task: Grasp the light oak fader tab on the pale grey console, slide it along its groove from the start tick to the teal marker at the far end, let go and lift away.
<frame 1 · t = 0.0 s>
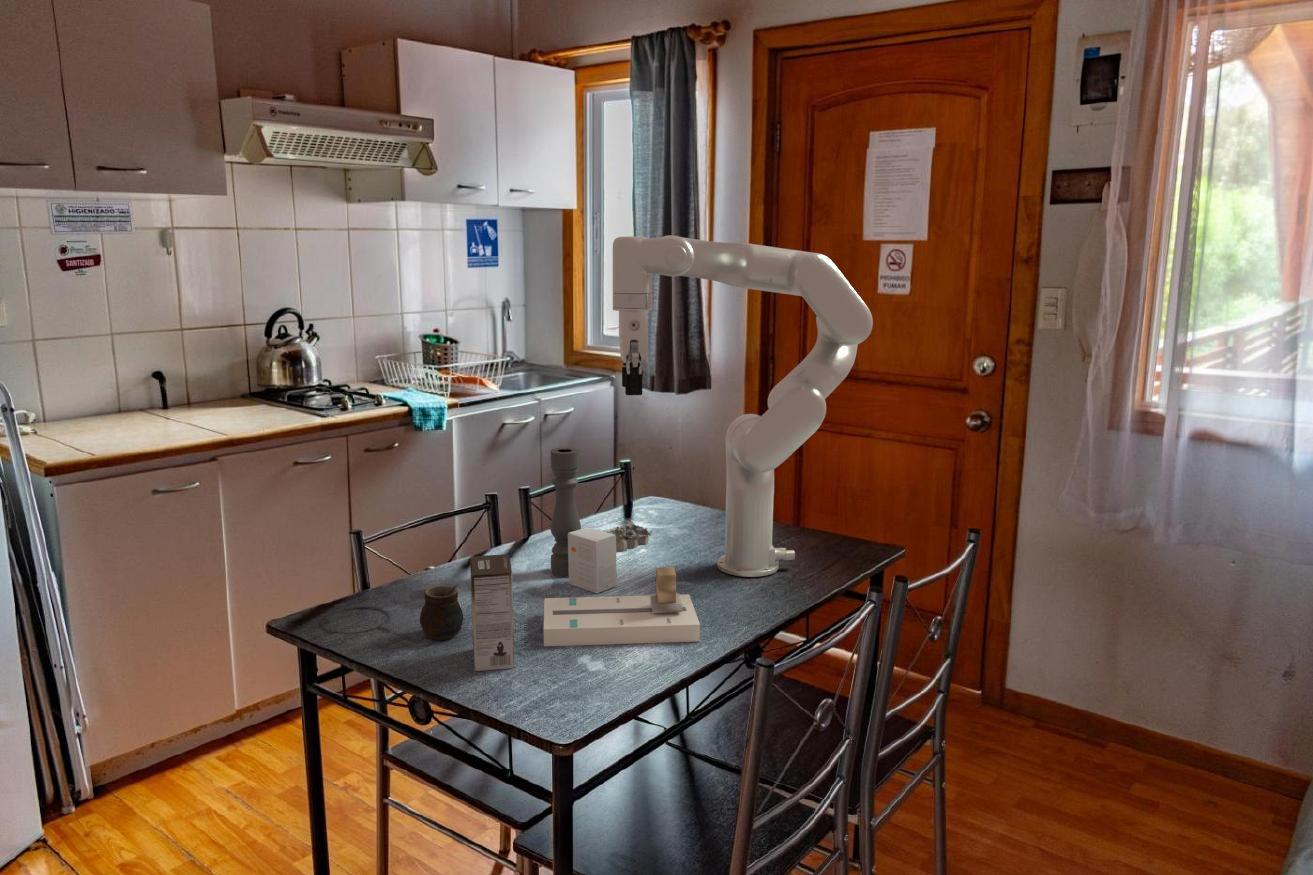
hand: (631, 390, 194), 37 cm above the table, tool pointing down, fingers open, 9 cm apart
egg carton: (624, 546, 218), on the table
coffee box: (493, 659, 160), on the table
mate gourd: (443, 636, 169), on the table
fader: (666, 589, 172), point 7 cm above the table, slide at -8.0 cm
small box: (592, 586, 193), on the table
console: (619, 627, 173), on the table
candle holder: (566, 572, 200), on the table
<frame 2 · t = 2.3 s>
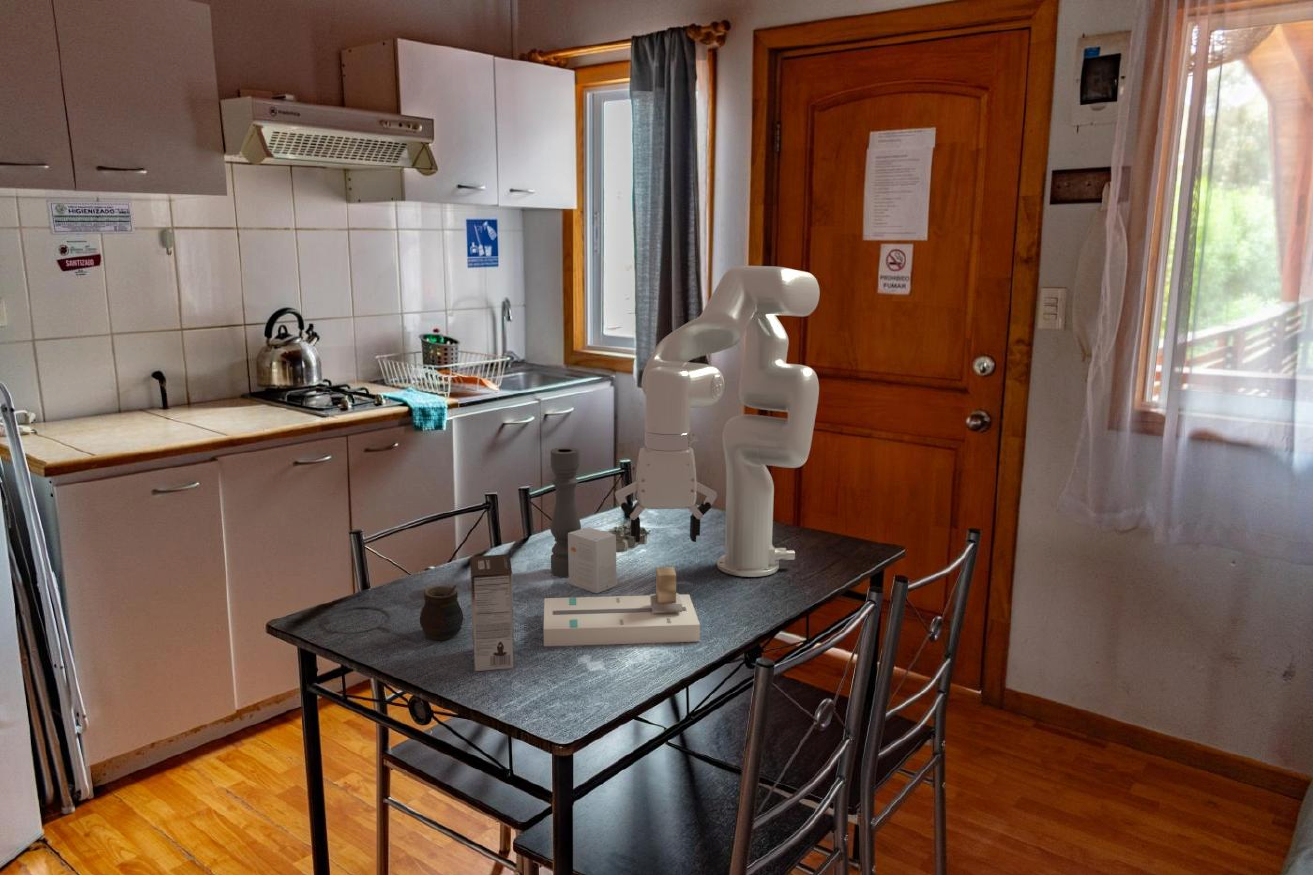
hand: (665, 540, 170), 16 cm above the table, tool pointing down, fingers open, 9 cm apart
nothing on the table moved.
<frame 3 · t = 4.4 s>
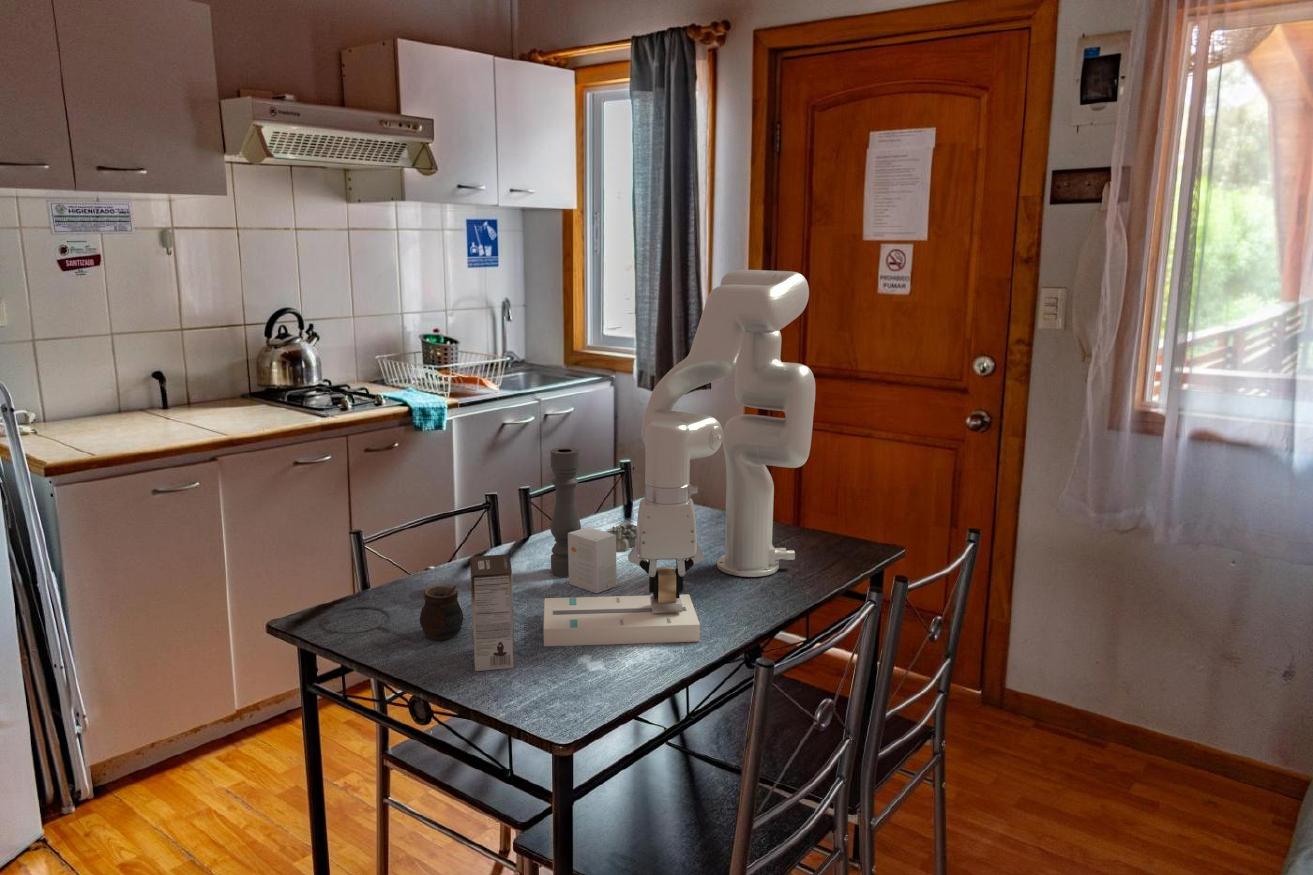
hand: (665, 595, 172), 6 cm above the table, tool pointing down, fingers closed on fader, 3 cm apart
fader: (666, 589, 172), point 7 cm above the table, slide at -8.0 cm, touching gripper
everything else where it was.
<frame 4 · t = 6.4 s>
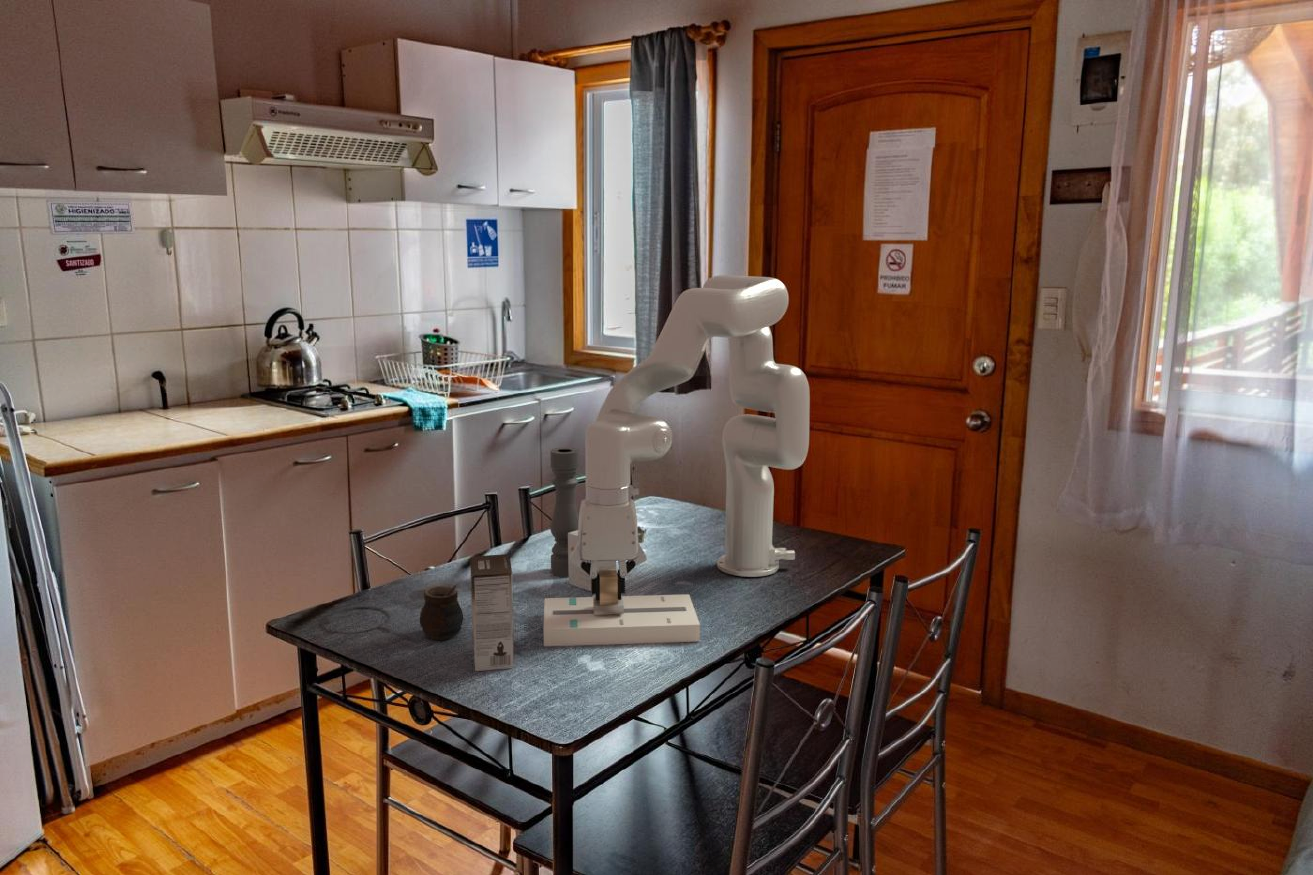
hand: (608, 596, 171), 6 cm above the table, tool pointing down, fingers closed on fader, 3 cm apart
fader: (608, 590, 171), point 7 cm above the table, slide at 2.0 cm, touching gripper
everything else where it was.
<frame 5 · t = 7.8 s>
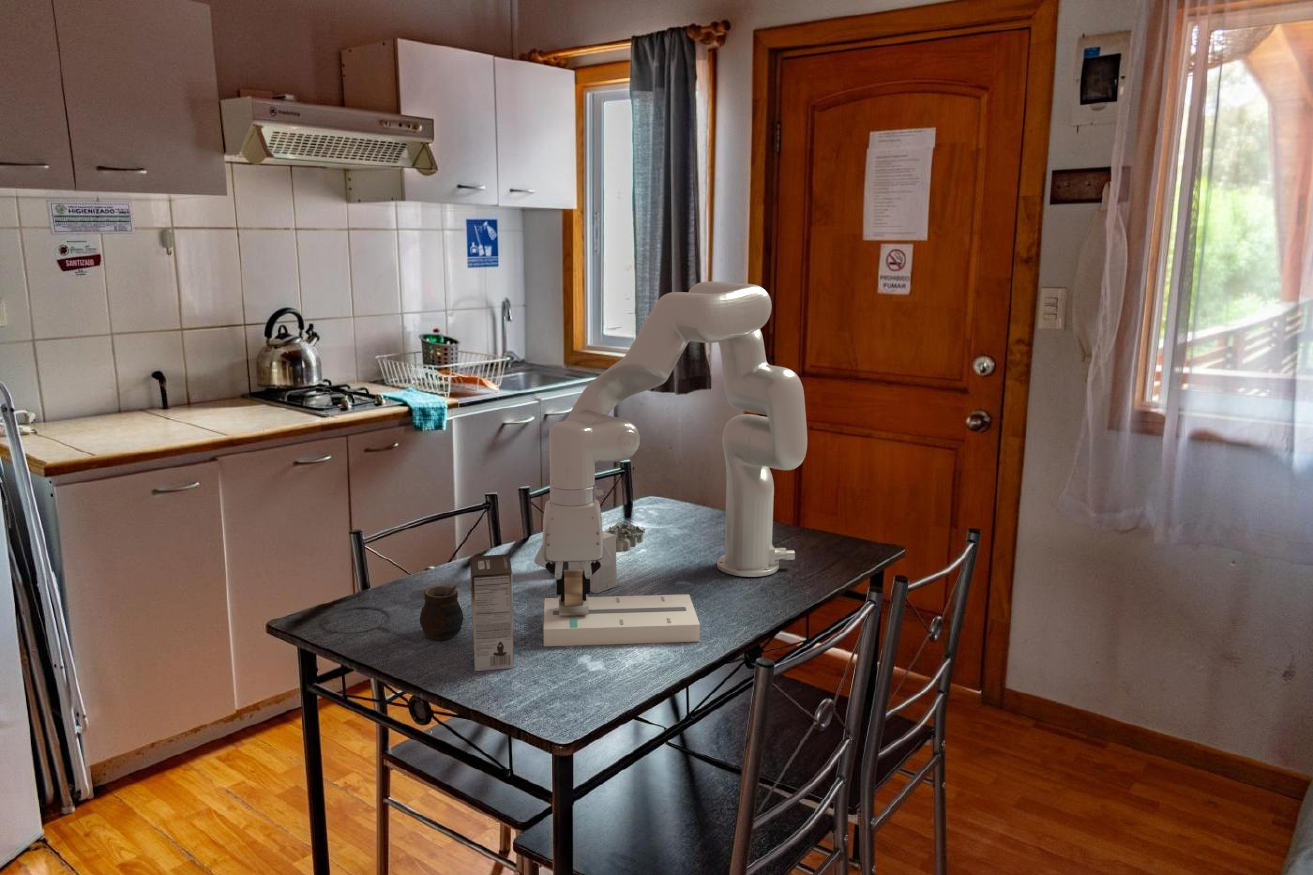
hand: (573, 597, 171), 6 cm above the table, tool pointing down, fingers closed on fader, 3 cm apart
fader: (573, 591, 171), point 7 cm above the table, slide at 8.0 cm, touching gripper
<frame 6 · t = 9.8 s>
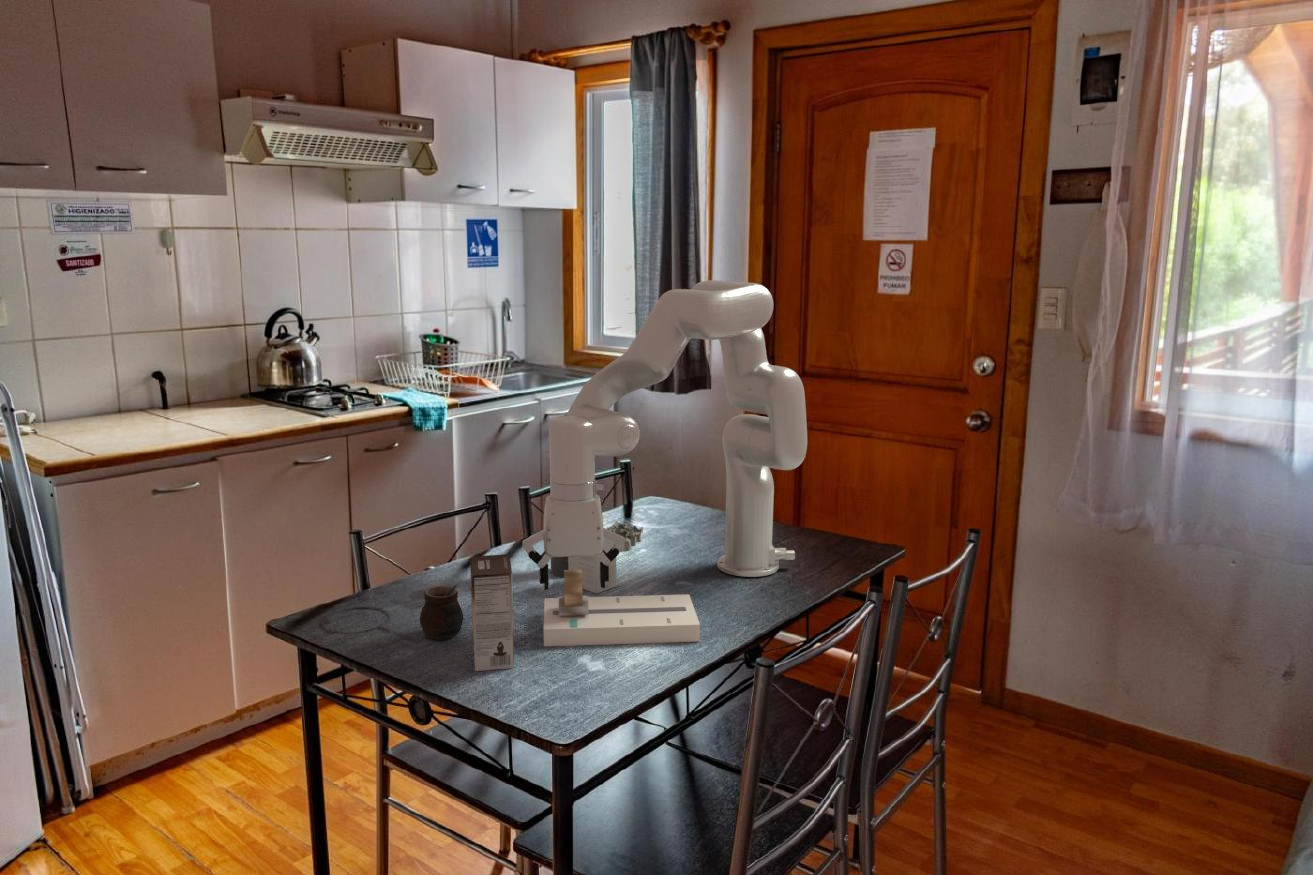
hand: (574, 586, 171), 8 cm above the table, tool pointing down, fingers open, 9 cm apart
fader: (573, 591, 171), point 7 cm above the table, slide at 8.0 cm
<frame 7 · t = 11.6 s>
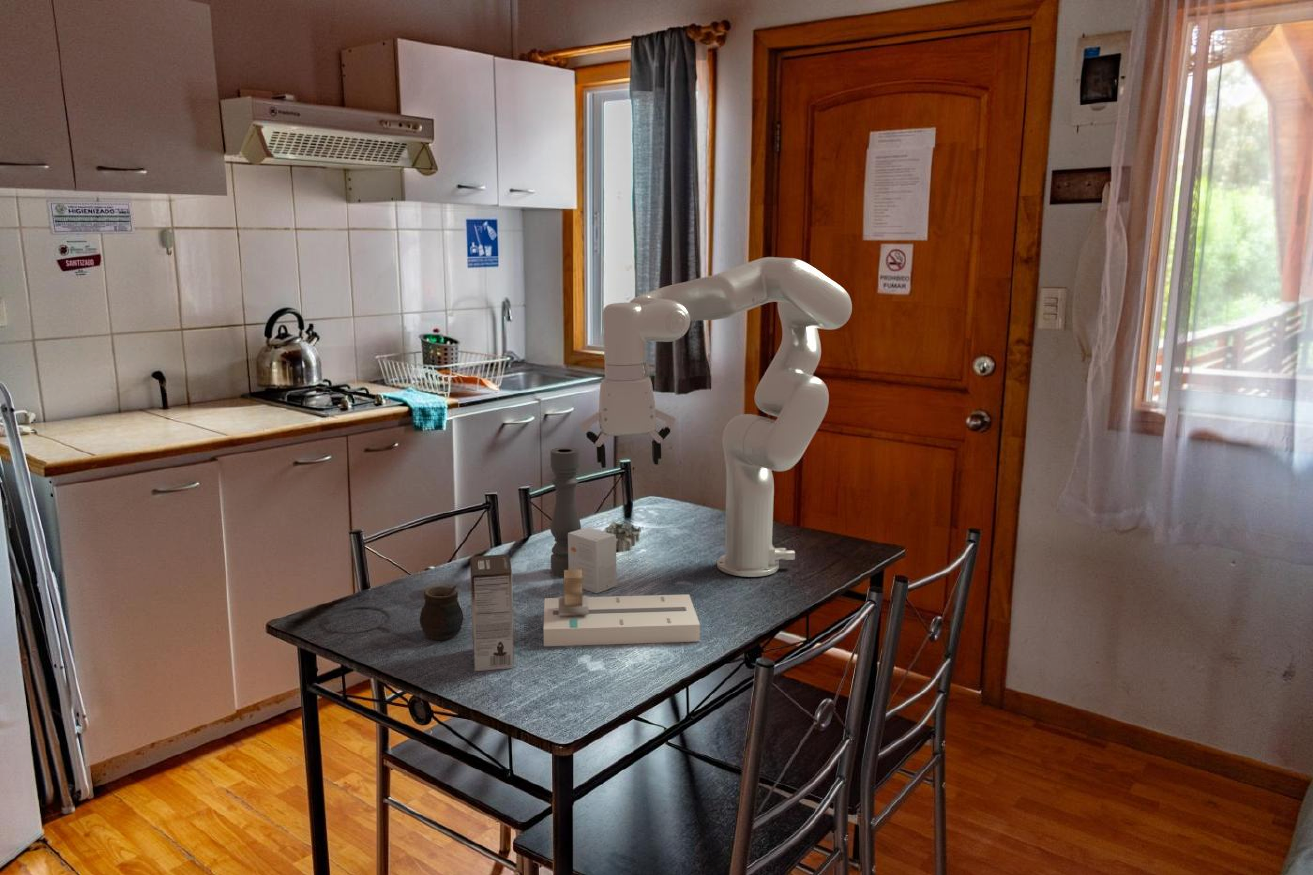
hand: (629, 464, 183), 25 cm above the table, tool pointing down, fingers open, 9 cm apart
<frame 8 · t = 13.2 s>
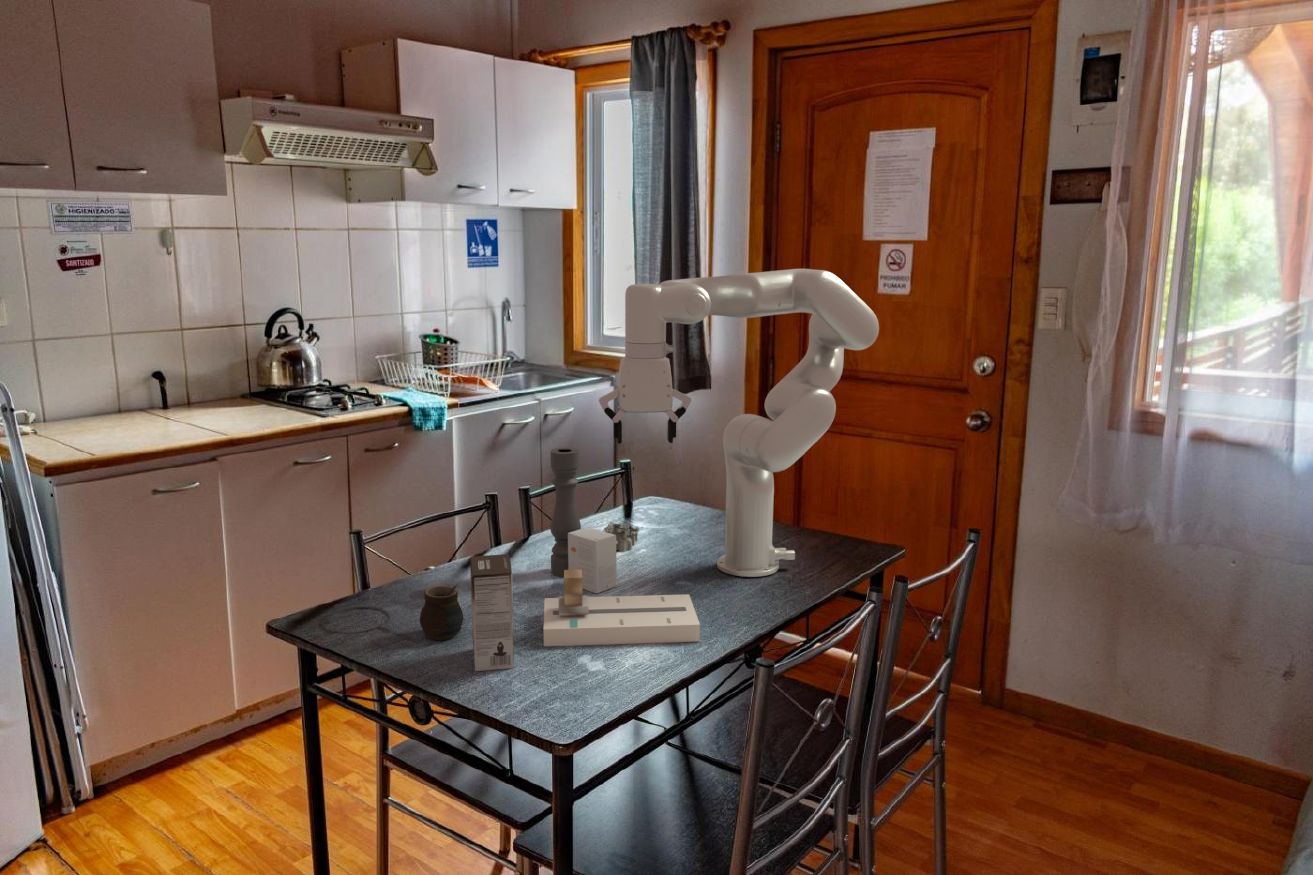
hand: (644, 441, 188), 28 cm above the table, tool pointing down, fingers open, 9 cm apart
at the end: fader slide at 8.0 cm; the gripper is holding nothing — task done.
